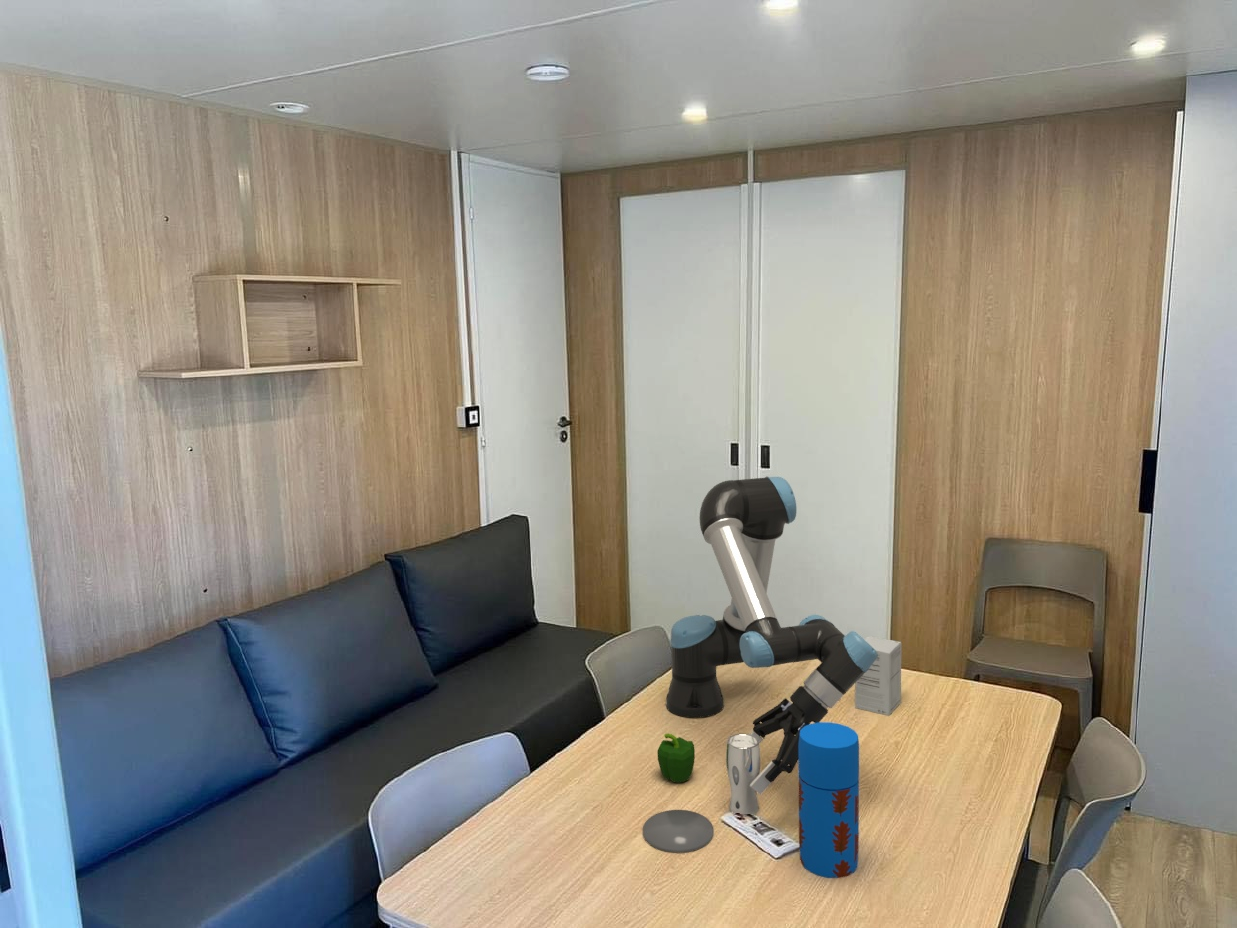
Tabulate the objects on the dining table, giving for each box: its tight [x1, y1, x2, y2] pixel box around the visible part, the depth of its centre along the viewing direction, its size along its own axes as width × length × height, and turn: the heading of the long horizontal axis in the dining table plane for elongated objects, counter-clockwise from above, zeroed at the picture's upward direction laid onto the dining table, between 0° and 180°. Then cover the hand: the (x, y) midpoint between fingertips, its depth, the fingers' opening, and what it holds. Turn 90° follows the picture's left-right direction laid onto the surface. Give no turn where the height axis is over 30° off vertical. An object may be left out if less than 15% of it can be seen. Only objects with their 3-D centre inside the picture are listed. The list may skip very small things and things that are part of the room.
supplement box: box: [854, 635, 902, 717], centre depth 230 cm, size 10×9×17 cm
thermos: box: [798, 721, 860, 879], centre depth 164 cm, size 11×11×25 cm
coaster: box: [642, 809, 714, 854], centre depth 177 cm, size 14×14×1 cm
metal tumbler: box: [725, 733, 761, 815], centre depth 184 cm, size 7×7×15 cm
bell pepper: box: [656, 733, 696, 783], centre depth 198 cm, size 8×8×10 cm
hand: (745, 773), depth 183 cm, fingers open, 13 cm apart
